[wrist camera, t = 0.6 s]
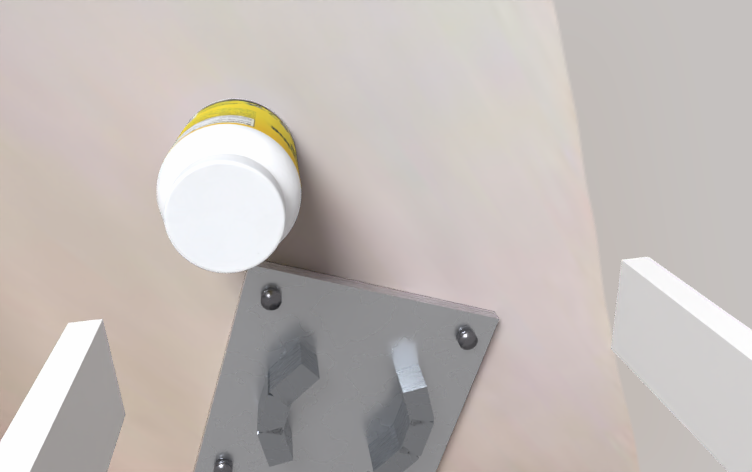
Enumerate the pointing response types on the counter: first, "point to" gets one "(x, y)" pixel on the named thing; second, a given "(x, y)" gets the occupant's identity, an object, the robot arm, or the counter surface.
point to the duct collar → (340, 376)
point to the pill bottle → (230, 186)
